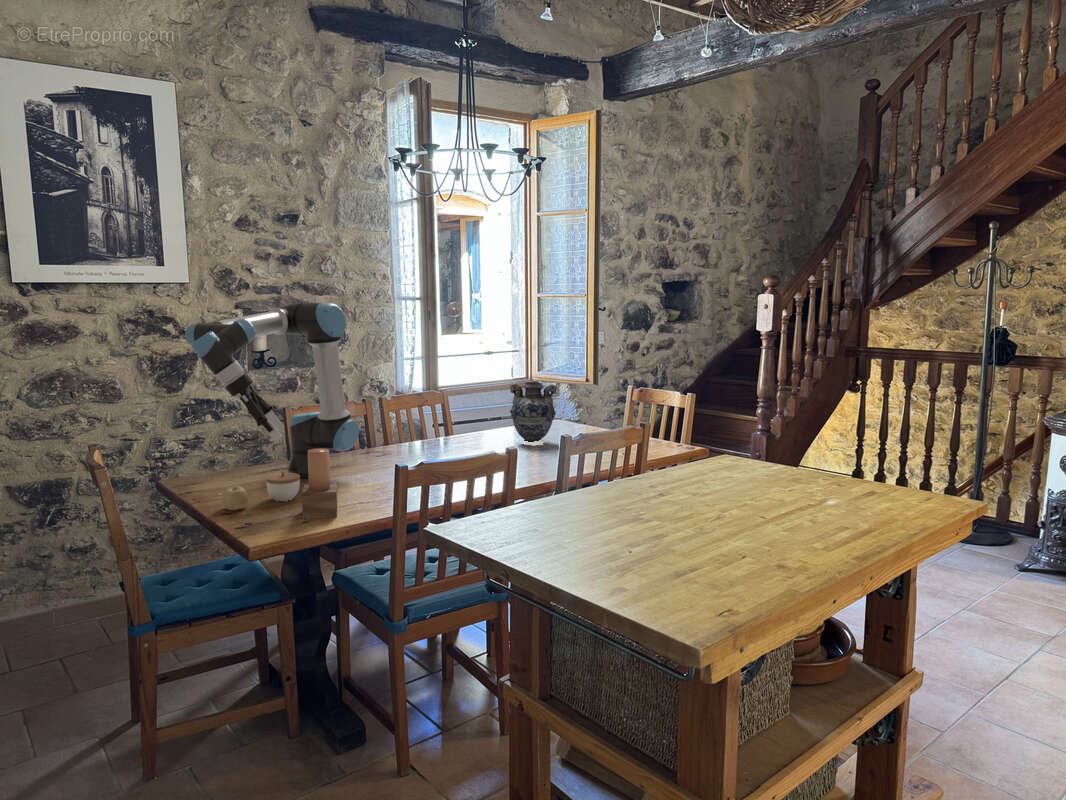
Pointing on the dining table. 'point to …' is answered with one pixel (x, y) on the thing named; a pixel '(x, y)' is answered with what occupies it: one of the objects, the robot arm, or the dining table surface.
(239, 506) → the apple
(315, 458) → the dome-topped peach cylinder
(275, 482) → the lidded jar
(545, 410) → the decorative vase
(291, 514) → the dining table surface
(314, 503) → the walnut crate
